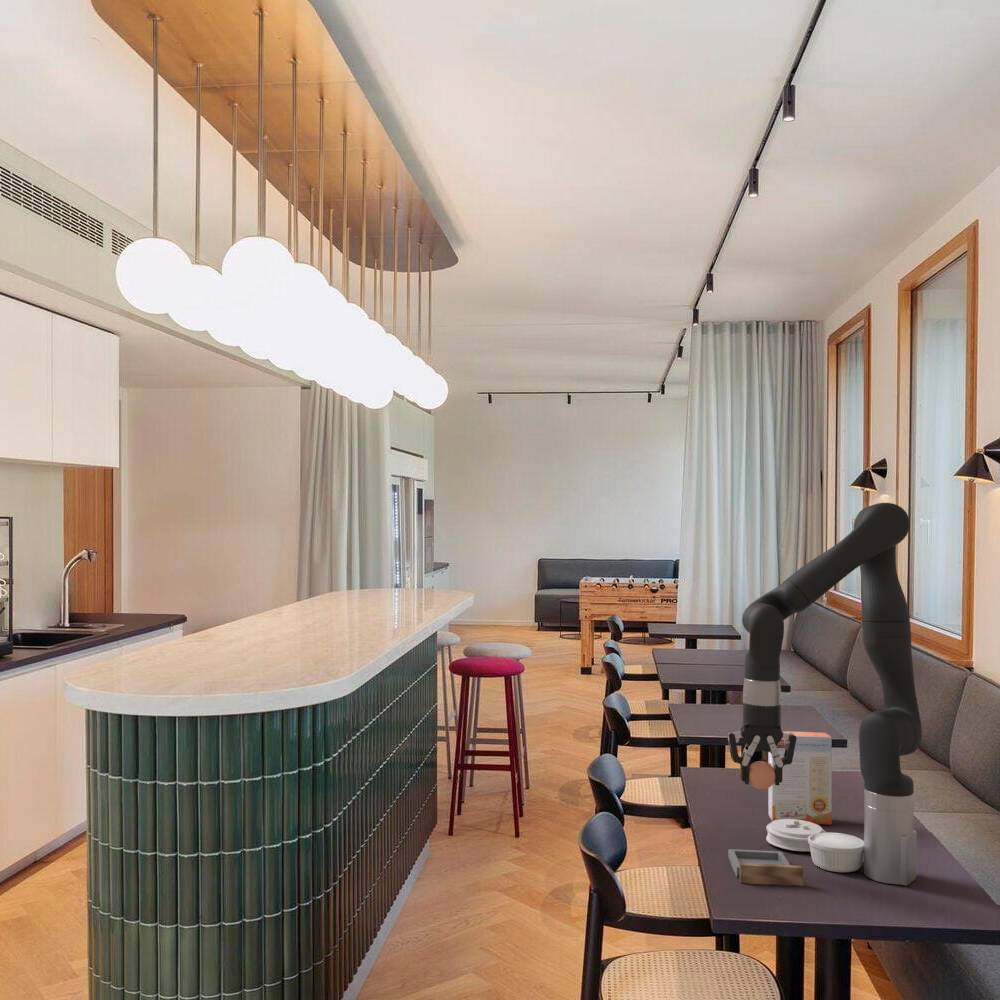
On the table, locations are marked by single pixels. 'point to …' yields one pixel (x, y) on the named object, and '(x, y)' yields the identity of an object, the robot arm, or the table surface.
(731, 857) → the tray
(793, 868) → the wall
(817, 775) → the cracker box
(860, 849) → the ramekin
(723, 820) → the table surface
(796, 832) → the lid
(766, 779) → the ball
